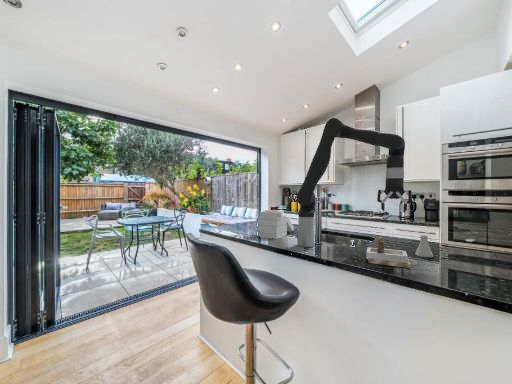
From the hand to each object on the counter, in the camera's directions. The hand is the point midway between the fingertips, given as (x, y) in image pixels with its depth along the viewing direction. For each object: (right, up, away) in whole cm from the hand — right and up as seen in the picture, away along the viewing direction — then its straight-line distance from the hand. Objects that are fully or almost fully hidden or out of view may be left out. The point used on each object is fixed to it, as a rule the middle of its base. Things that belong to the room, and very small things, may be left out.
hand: (393, 211), depth 113 cm
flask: (+17, -23, +4) cm, 28 cm away
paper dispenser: (-51, -22, +61) cm, 83 cm away
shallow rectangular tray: (-6, -21, -4) cm, 22 cm away
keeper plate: (-5, -23, -5) cm, 24 cm away
